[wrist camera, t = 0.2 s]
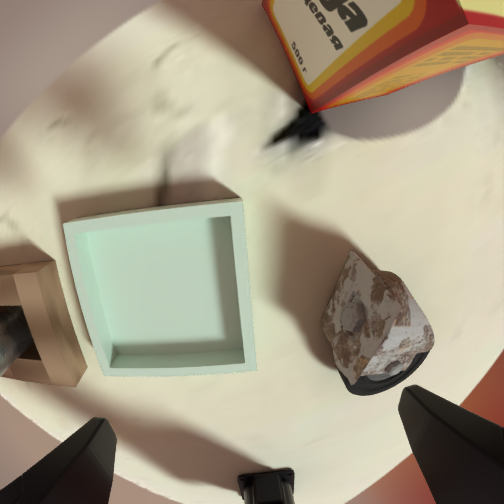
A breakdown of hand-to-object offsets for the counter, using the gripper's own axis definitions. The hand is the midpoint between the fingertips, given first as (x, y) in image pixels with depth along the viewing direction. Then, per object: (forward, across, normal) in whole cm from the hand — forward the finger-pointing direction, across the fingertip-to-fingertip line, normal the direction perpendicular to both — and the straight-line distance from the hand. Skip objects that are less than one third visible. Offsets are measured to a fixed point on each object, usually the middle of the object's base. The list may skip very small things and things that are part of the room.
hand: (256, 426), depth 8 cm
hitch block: (+14, +20, +3) cm, 24 cm away
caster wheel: (+15, -10, +6) cm, 19 cm away
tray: (+14, +6, +1) cm, 16 cm away
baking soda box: (+15, -8, -16) cm, 23 cm away
